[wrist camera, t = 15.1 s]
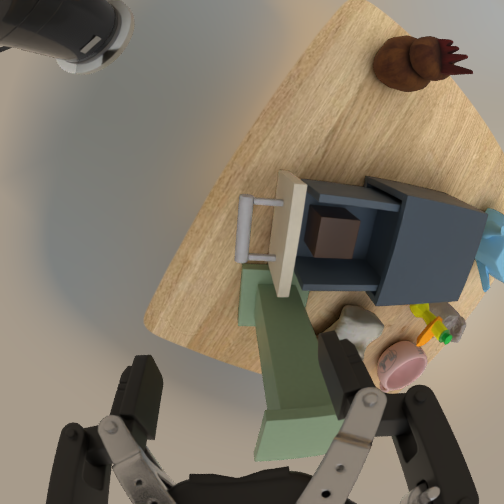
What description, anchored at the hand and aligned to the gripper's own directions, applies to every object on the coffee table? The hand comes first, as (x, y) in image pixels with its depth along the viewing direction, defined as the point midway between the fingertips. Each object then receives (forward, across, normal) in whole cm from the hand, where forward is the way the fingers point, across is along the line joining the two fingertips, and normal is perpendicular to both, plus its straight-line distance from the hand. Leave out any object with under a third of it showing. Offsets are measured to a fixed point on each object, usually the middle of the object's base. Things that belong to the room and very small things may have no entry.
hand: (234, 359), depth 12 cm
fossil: (+23, -32, +22) cm, 45 cm away
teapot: (+23, -42, +10) cm, 49 cm away
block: (+21, -11, +2) cm, 23 cm away
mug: (+23, -26, +33) cm, 47 cm away
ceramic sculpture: (+23, -13, +22) cm, 34 cm away
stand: (+22, -4, +12) cm, 26 cm away
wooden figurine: (+23, -22, -17) cm, 36 cm away
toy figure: (+23, -26, +18) cm, 39 cm away
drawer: (+22, -9, +2) cm, 24 cm away
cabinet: (+22, -23, +5) cm, 33 cm away
